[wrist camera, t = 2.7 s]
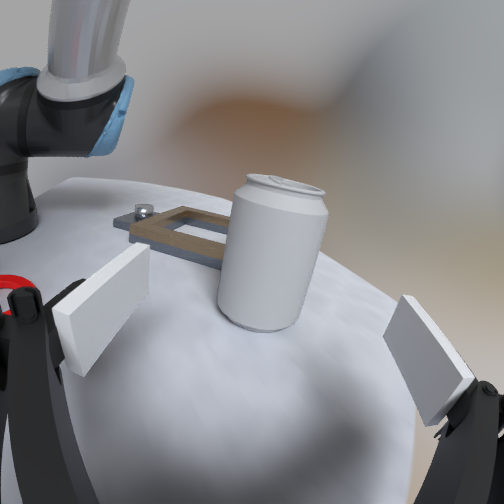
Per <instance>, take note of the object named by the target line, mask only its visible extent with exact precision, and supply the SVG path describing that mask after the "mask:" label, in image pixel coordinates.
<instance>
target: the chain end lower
mask: <svg viewBox="0 0 504 504" xmlns="http://www.w3.org/2000/svg"><path fill="white" fill-rule="evenodd" d="M153 209H154V206H152V205H149V204H137V205H135V212H133V213H130V214H127V215H123V216H120V217H117V218H114V220H113V226H114V227H117V228H121V229H124V230H127V231H130V224H133V223H136V222H138V221H141V220H144V219H146V218H149V217H152V216H155V215H158V214H160V213H156V212H153ZM184 224H188V225H192V226H196V227H200V228H204V229H208V230H212V231H215V232H219V233H223V234H227V233H228V227H225V226H221V225H217V224H213V223H209V222H205V221H201V220H196V219H192V218H188V217H185V218H183V219H181V220H178V221H176V222H174V223H172V224H169V225H167V226H165V227H162V228H166V229H169V230H174V229H176V228H178V227H180V226H182V225H184ZM129 242H131V243H134V244H135V243H136V242H138V243H143V244H147V245H150V249H153V250H156V251H160V252H163V253H166V254H169V255H173V256H176V257H179V258H183V259H186V260H189V261H193V262H196V263H199V264H203V265H206V266H210V267H213V268H216V269H220V270H222V263H223V260H220V259H216V258H212V257H209V256H205V255H202V254H198V253H195V252H191V251H188V250H184V249H181V248H178V247H174V246H171V245H167V244H164V243H160V242H157V241H153V240H150V239H147V238H143V237H140V236H137V235H133V234H129Z"/></svg>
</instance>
